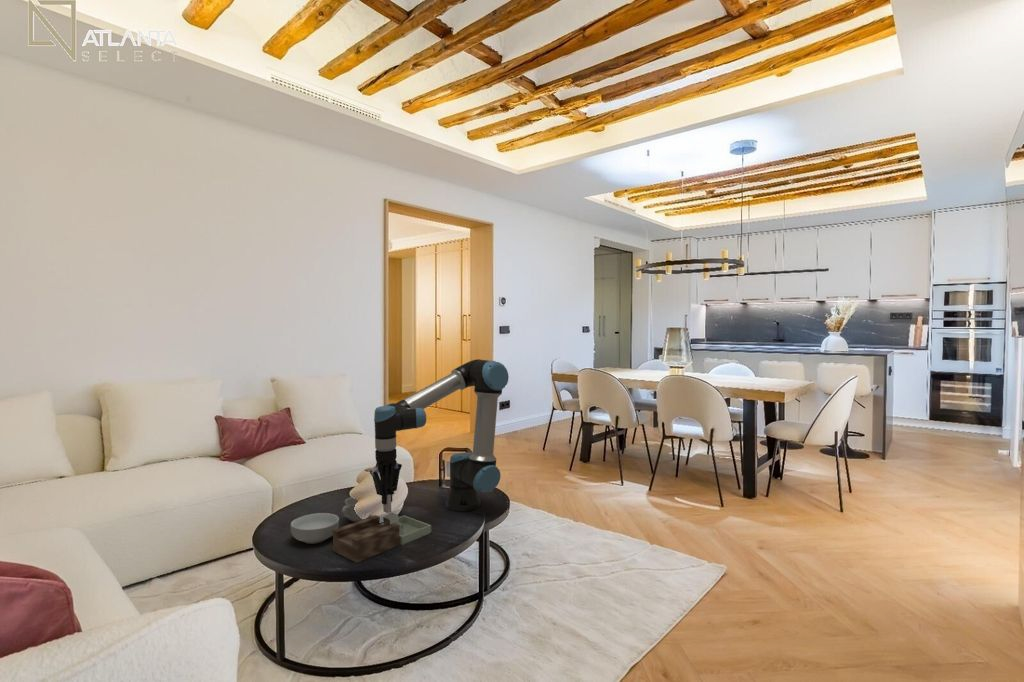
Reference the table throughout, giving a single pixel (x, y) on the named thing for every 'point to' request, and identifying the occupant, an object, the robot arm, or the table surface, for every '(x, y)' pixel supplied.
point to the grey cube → (401, 528)
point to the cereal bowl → (314, 527)
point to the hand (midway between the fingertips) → (387, 511)
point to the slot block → (365, 539)
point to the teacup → (350, 510)
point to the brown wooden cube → (390, 519)
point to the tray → (412, 529)
